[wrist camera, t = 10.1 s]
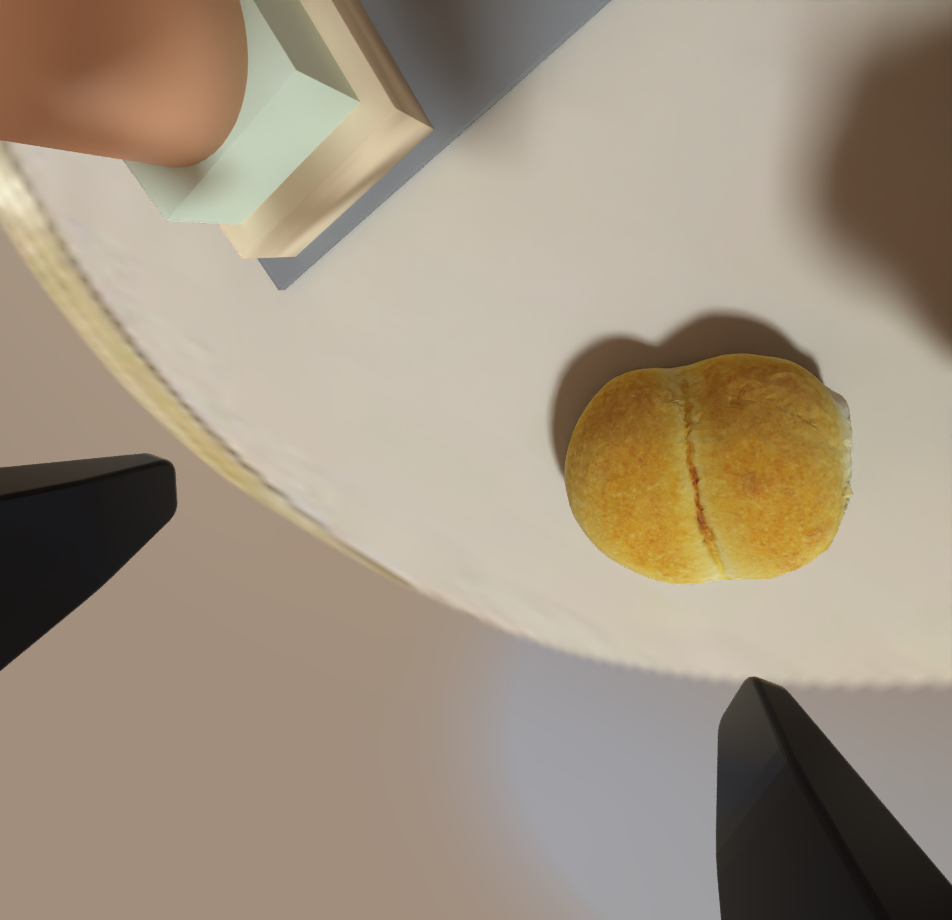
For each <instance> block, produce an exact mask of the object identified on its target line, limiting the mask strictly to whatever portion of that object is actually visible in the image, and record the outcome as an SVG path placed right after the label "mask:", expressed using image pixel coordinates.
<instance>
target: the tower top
mask: <svg viewBox="0 0 952 920" xmlns="http://www.w3.org/2000/svg"><path fill="white" fill-rule="evenodd" d="M239 1H240V4H241V8H242V13H243V17H244V22H245V28H246V36H247V46H248V73H247V83H246V90H245V96H244V100H243V103H242V107H241V111H240V113H239V116H238V119H237V121H236V124H235V125H234V127H233V129H232V131H231V133H230V135H229V136H228V138H227V139H226V140H225V142H224V143H223V144H222V146H221V147H220V148H219V149H218V150H217V151H216V152H215V153H214V154H212V155H211V156H209V157H208V158H206V159H205V160H203V161H201V162H199V163H197V164H194V165H190V166H186V167H167V166H160V165H154V164H148V163H141V162H135V161H129V160H123V161H124V162H125V164H126V165H127V167H128V168H129V169H130V171H131V172H132V174H133V175H134V177H135V178H136V179H137V181H138V182H139V184H140V185H141V187H142V188H143V189H144V191H145V192H146V194H147V195H148V197H149V198H150V199H151V201H152V202H153V204H154V205H155V207H156V208H157V209H158V211H159V212H160V214H161V215H162V217H163V218H164V219H165V221H173V222H195V223H216V224H238V225H242V224H243V223H244V222H245V221H246V220H247V219H248V218H249V217H250V216H251V215H252V214H253V212H254V211H255V210H256V209H257V208H258V207H259V206H260V205H261V204H262V203H263V202H264V201H265V200H266V199H267V198H268V197H269V196H270V195H271V194H272V193H273V192H274V191H275V190H276V189H277V188H278V187H279V186H280V185H281V184H282V183H283V182H284V181H285V180H286V179H287V177H288V176H289V175H290V174H291V173H292V172H293V171H294V170H295V169H296V168H297V167H298V166H299V165H300V164H301V163H302V162H303V161H304V160H305V159H306V158H307V157H308V156H309V155H310V154H311V153H312V152H313V151H314V150H315V149H316V148H317V147H318V146H319V145H320V144H321V142H322V141H323V140H324V139H325V138H326V137H327V136H328V135H329V134H330V133H331V132H332V131H333V130H334V129H335V128H336V127H337V126H338V125H339V124H340V123H341V122H342V121H343V120H344V119H345V118H346V117H347V116H348V115H349V114H350V113H351V112H352V111H353V110H354V109H355V107H356V106H357V105H358V104H359V103H360V101H359V99H358V97H357V96H356V94H355V92H354V91H353V89H352V87H351V86H350V84H349V82H348V81H347V79H346V77H345V75H344V74H343V72H342V70H341V69H340V67H339V65H338V64H337V62H336V60H335V59H334V57H333V55H332V54H331V52H330V50H329V49H328V47H327V45H326V44H325V42H324V40H323V39H322V37H321V35H320V34H319V32H318V30H317V29H316V27H315V25H314V24H313V22H312V20H311V19H310V17H309V15H308V14H307V12H306V10H305V9H304V7H303V5H302V4H301V2H300V0H239Z"/></svg>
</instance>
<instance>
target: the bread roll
mask: <svg viewBox="0 0 952 920" xmlns="http://www.w3.org/2000/svg"><path fill="white" fill-rule="evenodd" d="M851 449H852V428H851V421H850V411H849V407H848V404H847V401H846V400H845V399H844V398H843V396H841V395H840V394H838V393H836V392H834V391H833V390H831V389H829V388H828V387H826V386H825V385H824V384H823V383H822V382H821V381H820V380H819V379H818V378H817V377H815V376H814V375H813V374H811V373H810V372H809V371H807V370H806V369H805V368H803V367H802V366H800V365H798V364H796V363H794V362H792V361H789V360H786V359H781V358H777V357H770V356H763V355H755V354H744V353H739V354H726V355H721V356H717V357H713V358H709V359H706V360H702V361H699V362H696V363H694V364H691V365H686V366H680V367H674V368H647V369H637V370H633V371H630V372H627V373H624V374H622V375H619V376H617V377H615V378H613V379H612V380H610V381H609V382H607V383H606V384H605V385H604V386H603V387H602V388H601V389H600V390H599V391H598V393H597V394H596V395H595V396H594V397H593V399H592V400H591V401H590V402H589V404H588V405H587V407H586V408H585V410H584V411H583V413H582V415H581V416H580V418H579V420H578V421H577V424H576V426H575V428H574V430H573V433H572V436H571V440H570V443H569V446H568V450H567V454H566V459H565V467H564V476H565V485H566V491H567V496H568V500H569V504H570V507H571V510H572V513H573V515H574V517H575V519H576V521H577V523H578V524H579V525H580V527H581V528H582V530H583V531H584V533H585V534H586V536H587V537H588V538H589V539H590V541H591V542H592V543H593V544H594V545H595V546H596V547H597V548H598V549H599V550H600V551H601V552H602V553H604V554H605V555H606V556H608V557H609V558H610V559H612V560H614V561H615V562H617V563H618V564H620V565H622V566H624V567H626V568H628V569H630V570H632V571H634V572H636V573H639V574H641V575H643V576H646V577H648V578H651V579H655V580H658V581H661V582H666V583H671V584H696V583H704V582H710V581H717V580H724V579H770V578H773V577H776V576H779V575H782V574H785V573H787V572H790V571H793V570H796V569H798V568H801V567H802V566H804V565H806V564H808V563H809V562H811V561H812V560H814V559H815V558H816V557H817V556H819V555H820V554H821V553H823V552H824V551H826V550H827V549H828V548H829V546H830V545H831V543H832V541H833V538H834V537H835V535H836V533H837V531H838V529H839V526H840V523H841V520H842V518H843V515H844V514H845V510H846V509H847V508H848V502H849V501H850V500H849V497H851V495H852V494H853V492H852V490H851V485H850V479H851V476H852V467H851V465H852V458H851Z"/></svg>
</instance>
